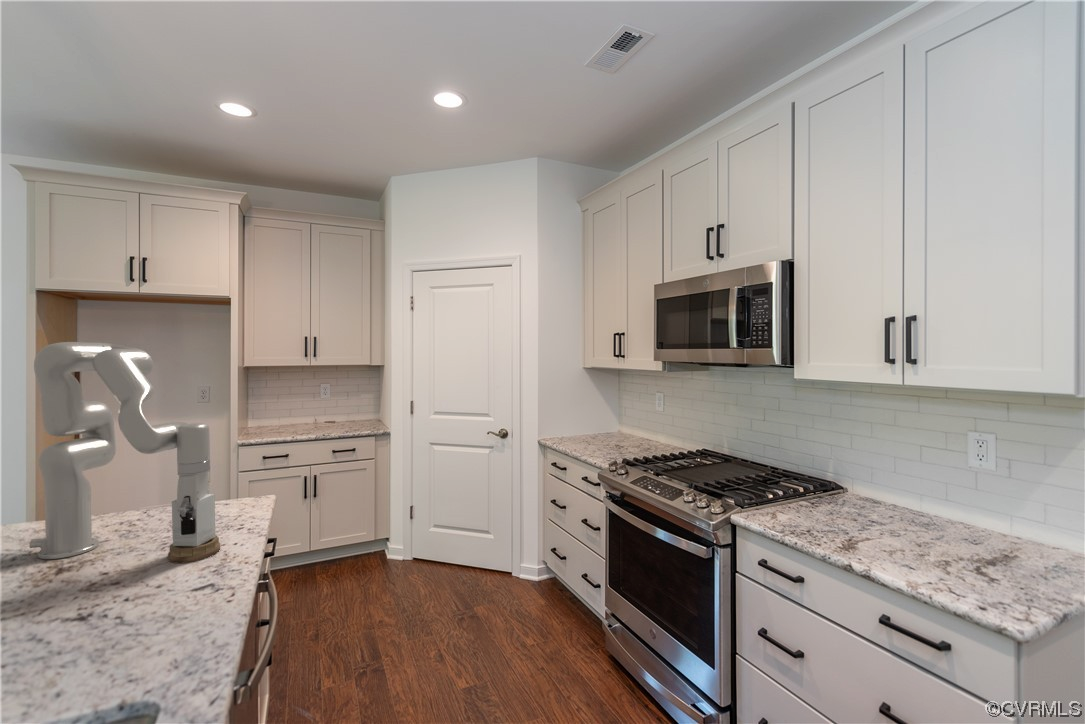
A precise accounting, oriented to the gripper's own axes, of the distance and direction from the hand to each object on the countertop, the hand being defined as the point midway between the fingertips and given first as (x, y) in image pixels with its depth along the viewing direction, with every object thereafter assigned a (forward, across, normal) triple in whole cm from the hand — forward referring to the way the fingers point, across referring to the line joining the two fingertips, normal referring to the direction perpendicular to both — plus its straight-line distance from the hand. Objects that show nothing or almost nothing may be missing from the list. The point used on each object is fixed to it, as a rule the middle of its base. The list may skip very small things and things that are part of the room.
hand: (195, 528), depth 138 cm
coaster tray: (+7, 0, 0) cm, 7 cm away
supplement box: (+4, 0, 0) cm, 4 cm away
